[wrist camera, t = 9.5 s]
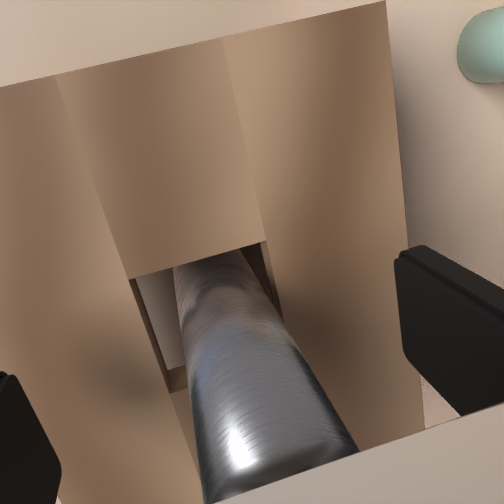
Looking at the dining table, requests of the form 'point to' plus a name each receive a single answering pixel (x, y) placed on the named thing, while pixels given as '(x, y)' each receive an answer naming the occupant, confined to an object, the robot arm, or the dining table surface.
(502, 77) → the short pin
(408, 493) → the robot arm
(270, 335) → the long pin
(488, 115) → the dining table surface
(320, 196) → the bridge
